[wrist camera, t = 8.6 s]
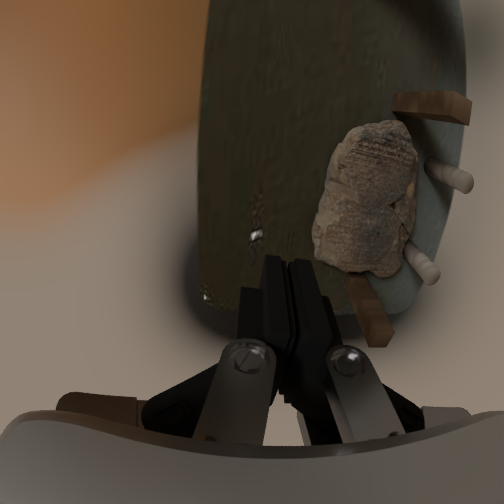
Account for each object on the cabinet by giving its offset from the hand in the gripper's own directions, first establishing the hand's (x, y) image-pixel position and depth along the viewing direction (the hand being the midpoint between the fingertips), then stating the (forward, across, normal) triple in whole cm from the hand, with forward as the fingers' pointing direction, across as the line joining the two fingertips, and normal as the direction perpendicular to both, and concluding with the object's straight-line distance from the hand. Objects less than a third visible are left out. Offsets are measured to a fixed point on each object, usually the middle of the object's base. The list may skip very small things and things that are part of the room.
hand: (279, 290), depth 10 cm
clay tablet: (+24, -13, +1) cm, 27 cm away
